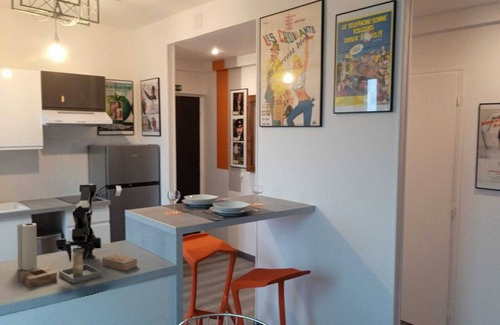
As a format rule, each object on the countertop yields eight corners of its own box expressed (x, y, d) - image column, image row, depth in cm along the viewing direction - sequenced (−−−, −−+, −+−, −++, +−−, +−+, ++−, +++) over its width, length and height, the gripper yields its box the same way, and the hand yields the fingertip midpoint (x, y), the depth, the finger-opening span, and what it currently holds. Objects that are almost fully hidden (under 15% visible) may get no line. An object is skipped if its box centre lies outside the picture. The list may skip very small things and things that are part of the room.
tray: (59, 276, 183) (59, 270, 183) (86, 269, 193) (86, 263, 193) (73, 284, 174) (73, 278, 174) (101, 276, 184) (101, 271, 184)
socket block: (19, 280, 177) (19, 272, 176) (45, 273, 185) (45, 266, 185) (30, 287, 170) (30, 279, 169) (56, 280, 178) (56, 272, 178)
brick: (100, 265, 199) (100, 256, 199) (114, 260, 207) (114, 251, 206) (124, 272, 191) (124, 262, 191) (137, 267, 199) (137, 258, 198)
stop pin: (69, 278, 178) (70, 249, 178) (76, 275, 183) (77, 247, 183) (79, 279, 177) (80, 250, 177) (85, 276, 182) (86, 248, 182)
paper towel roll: (39, 267, 192) (39, 223, 191) (28, 271, 187) (27, 226, 185) (29, 265, 195) (29, 221, 194) (17, 268, 190) (17, 224, 188)
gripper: (56, 221, 179) (51, 253, 170) (100, 220, 184) (98, 251, 174) (60, 233, 188) (55, 265, 178) (102, 232, 192) (100, 262, 183)
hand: (77, 260), depth 178 cm, fingers open, 5 cm apart
